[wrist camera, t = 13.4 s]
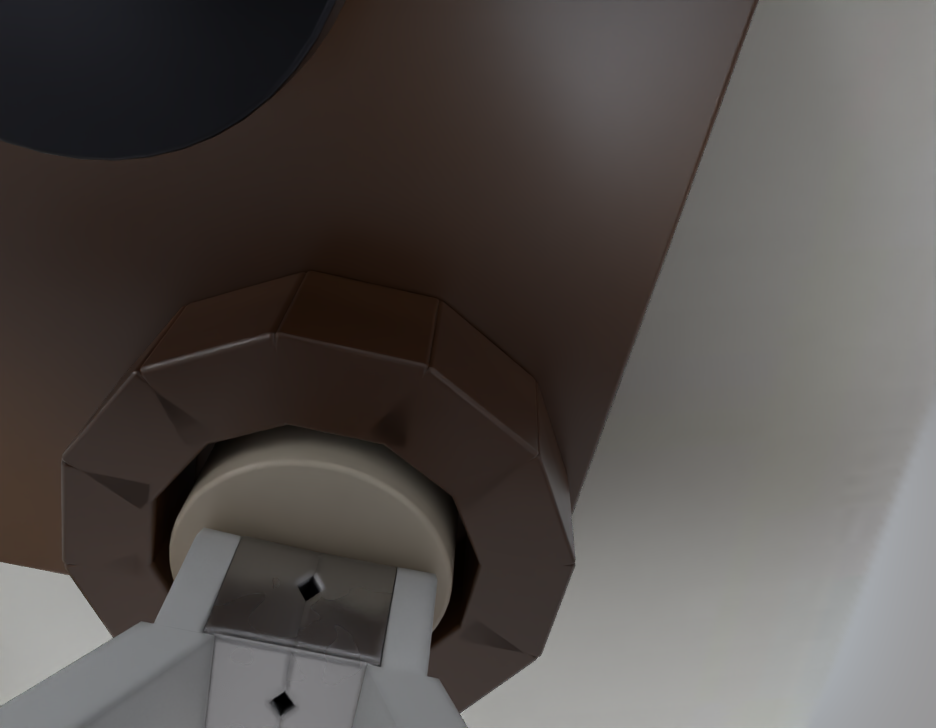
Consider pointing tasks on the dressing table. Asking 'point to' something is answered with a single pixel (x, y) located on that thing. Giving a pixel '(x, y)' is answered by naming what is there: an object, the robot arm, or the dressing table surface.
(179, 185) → the lamp base
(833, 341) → the dressing table surface
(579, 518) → the dressing table surface
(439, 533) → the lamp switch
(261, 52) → the lamp
